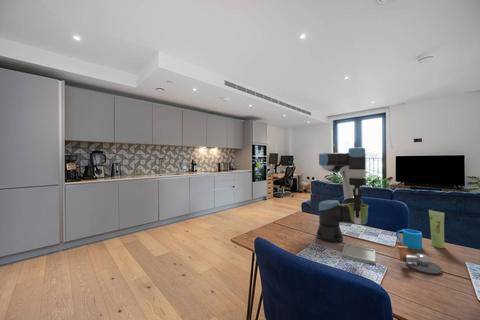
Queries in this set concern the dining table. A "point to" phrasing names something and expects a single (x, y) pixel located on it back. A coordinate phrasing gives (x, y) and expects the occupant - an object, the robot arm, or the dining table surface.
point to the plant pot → (363, 211)
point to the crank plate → (425, 268)
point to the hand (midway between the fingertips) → (358, 221)
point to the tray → (359, 253)
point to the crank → (413, 257)
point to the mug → (411, 238)
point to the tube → (437, 228)
